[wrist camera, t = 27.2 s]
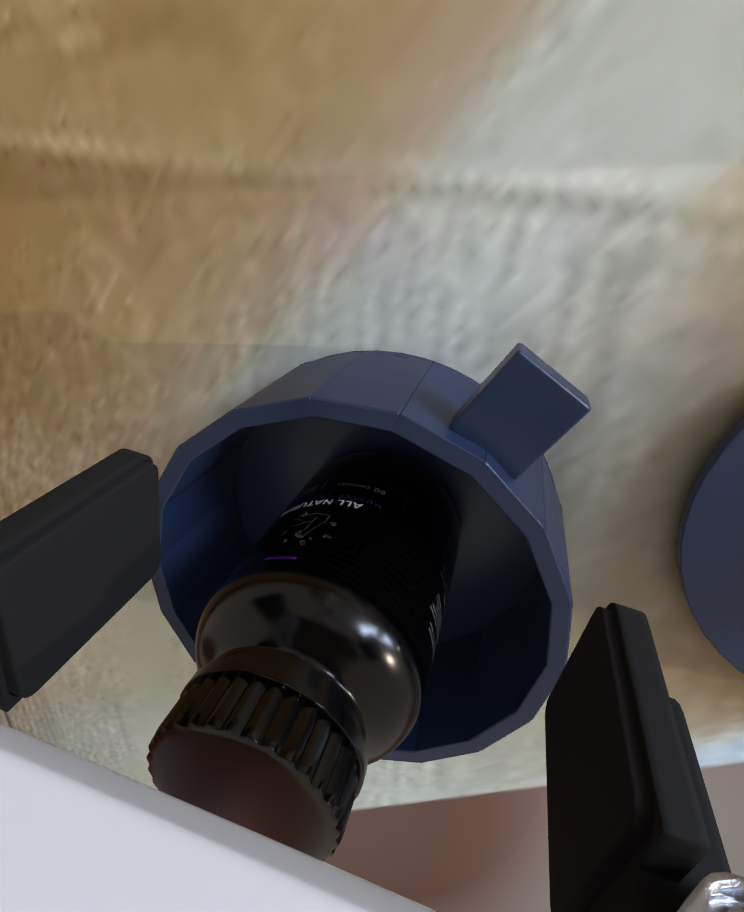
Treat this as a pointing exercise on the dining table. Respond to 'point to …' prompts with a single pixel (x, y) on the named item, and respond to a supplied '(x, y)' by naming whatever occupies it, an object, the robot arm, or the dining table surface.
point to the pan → (458, 472)
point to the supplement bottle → (314, 654)
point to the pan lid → (717, 548)
